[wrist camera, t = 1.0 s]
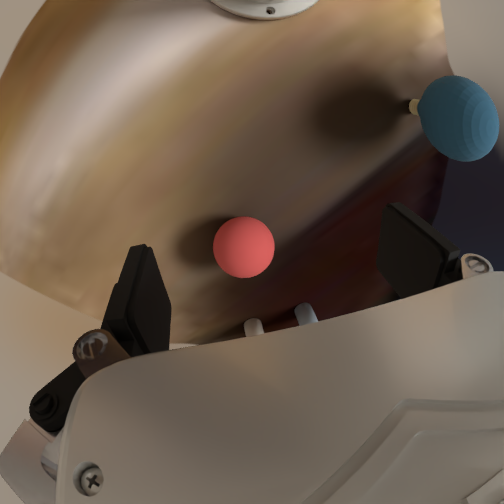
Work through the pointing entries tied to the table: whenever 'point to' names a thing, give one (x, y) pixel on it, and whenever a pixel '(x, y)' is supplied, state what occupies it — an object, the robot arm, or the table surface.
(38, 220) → the table surface
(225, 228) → the ball
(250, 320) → the ivory pin
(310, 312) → the slate-blue pin
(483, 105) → the blue ovoid piece
